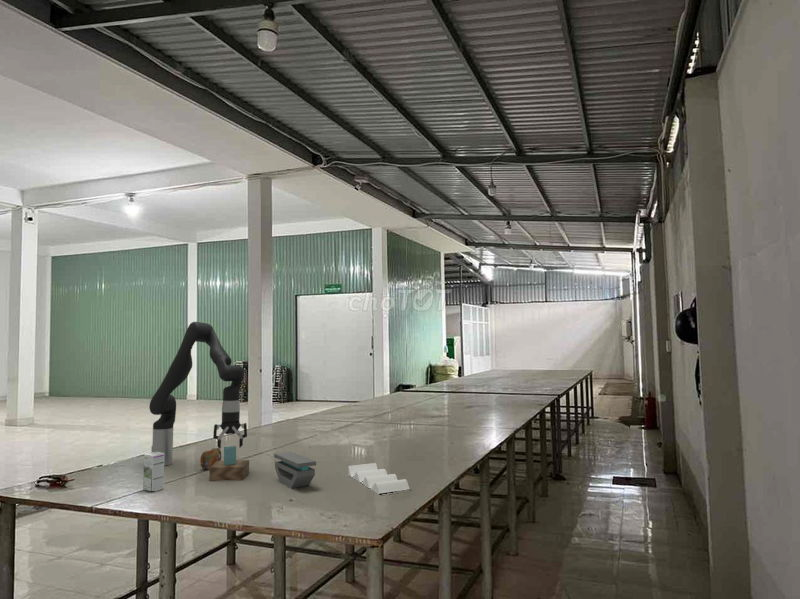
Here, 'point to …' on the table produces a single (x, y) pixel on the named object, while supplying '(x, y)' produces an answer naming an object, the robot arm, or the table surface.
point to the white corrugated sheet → (377, 478)
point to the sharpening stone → (294, 469)
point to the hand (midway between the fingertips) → (230, 447)
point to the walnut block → (229, 471)
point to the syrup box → (153, 471)
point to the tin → (210, 458)
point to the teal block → (230, 455)
